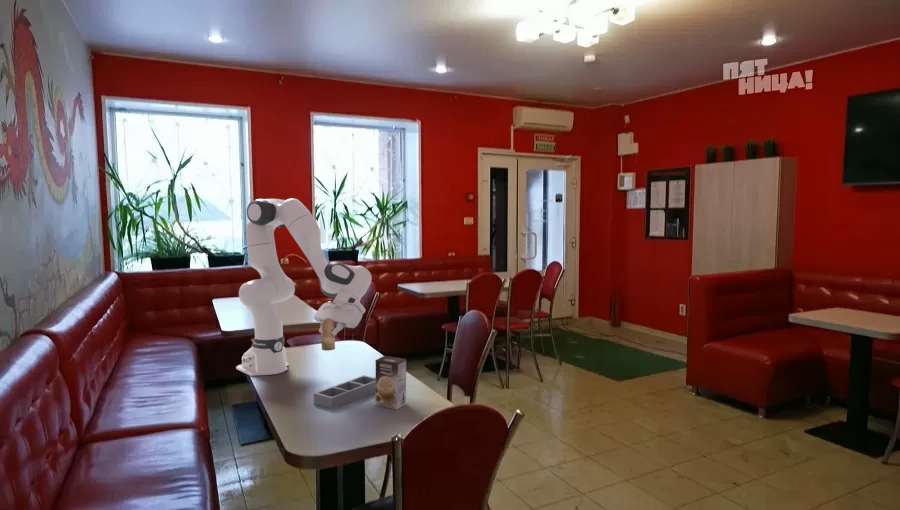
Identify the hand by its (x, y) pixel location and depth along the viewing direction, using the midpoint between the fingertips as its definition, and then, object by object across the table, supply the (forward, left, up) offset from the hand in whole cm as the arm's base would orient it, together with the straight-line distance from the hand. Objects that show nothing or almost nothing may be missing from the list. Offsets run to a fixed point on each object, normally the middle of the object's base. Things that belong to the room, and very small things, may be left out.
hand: (326, 333), depth 197 cm
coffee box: (+28, +3, -22) cm, 36 cm away
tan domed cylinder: (0, +1, -6) cm, 6 cm away
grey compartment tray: (+10, +1, -22) cm, 24 cm away
